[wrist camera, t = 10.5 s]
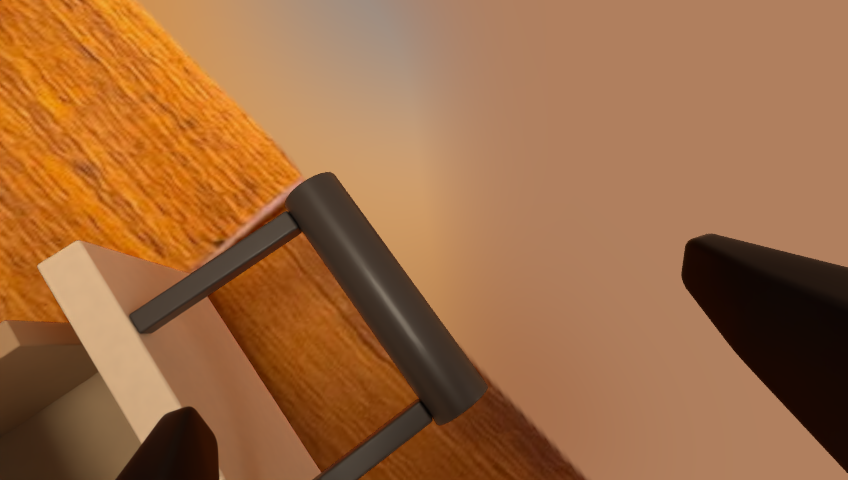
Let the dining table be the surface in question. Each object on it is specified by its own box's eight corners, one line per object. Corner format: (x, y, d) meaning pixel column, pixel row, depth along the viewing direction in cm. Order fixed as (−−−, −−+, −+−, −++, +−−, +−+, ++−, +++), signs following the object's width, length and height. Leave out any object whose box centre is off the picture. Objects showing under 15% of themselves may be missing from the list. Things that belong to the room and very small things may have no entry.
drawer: (327, 185, 20) (283, 100, 13) (494, 418, 18) (551, 468, 11) (-116, 478, 17) (-487, 577, 10) (35, 785, 15) (-279, 1165, 8)
